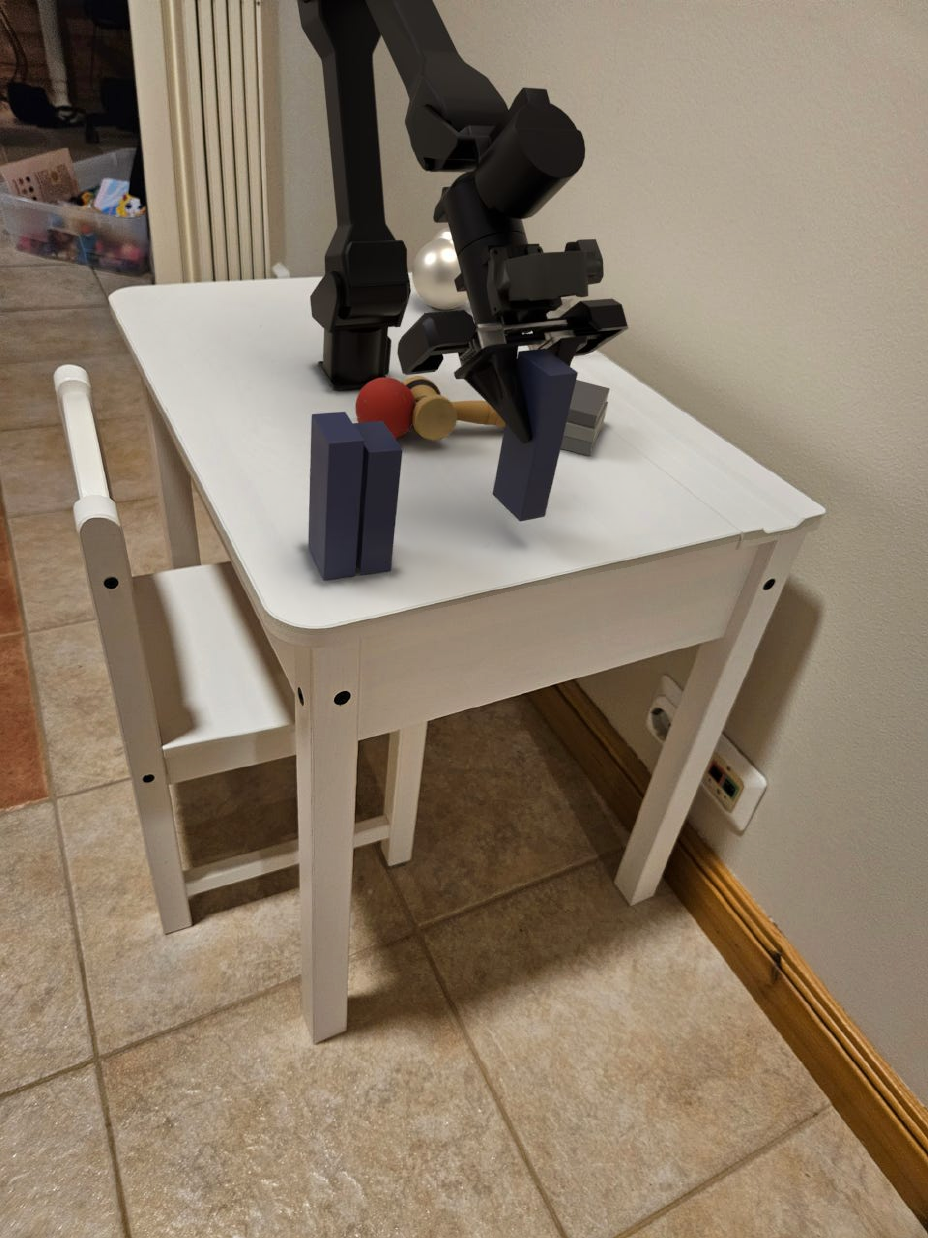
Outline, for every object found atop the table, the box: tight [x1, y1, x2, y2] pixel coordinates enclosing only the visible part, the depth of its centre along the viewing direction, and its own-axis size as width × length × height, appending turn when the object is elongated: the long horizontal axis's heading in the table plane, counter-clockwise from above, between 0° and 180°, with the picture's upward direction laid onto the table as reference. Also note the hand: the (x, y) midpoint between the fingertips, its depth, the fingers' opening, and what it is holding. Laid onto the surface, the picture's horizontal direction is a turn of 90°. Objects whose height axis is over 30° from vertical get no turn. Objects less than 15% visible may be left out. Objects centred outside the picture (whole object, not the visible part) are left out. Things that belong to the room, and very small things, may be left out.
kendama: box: [354, 375, 505, 441], centre depth 89 cm, size 8×6×18 cm
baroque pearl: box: [411, 226, 469, 311], centre depth 116 cm, size 9×10×10 cm
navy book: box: [492, 349, 579, 523], centre depth 71 cm, size 3×4×13 cm, turn 30°
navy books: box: [307, 411, 404, 581], centre depth 68 cm, size 6×4×12 cm
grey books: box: [560, 379, 611, 457], centre depth 93 cm, size 8×8×4 cm
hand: (542, 439), depth 70 cm, fingers closed on navy book, 3 cm apart
